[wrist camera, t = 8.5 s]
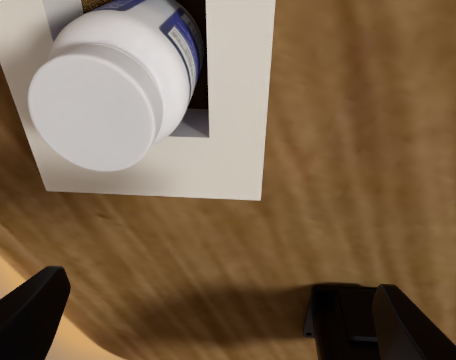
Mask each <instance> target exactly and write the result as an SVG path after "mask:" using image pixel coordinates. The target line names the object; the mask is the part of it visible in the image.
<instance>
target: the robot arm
mask: <svg viewBox="0 0 456 360" xmlns="http://www.w3.org/2000/svg"><path fill="white" fill-rule="evenodd" d="M70 288H71V287H70V283H69V280H68V277H67V275H66V272H65V269H64V268H63V267H62V266H47V267H45V268H44V269H43V270H41V271H40V272H38V273H37V274H35V275H34V276H33V277H31V278H30V279H28V280H27V281H26V282H24V283H23V284H21V285H20V286H19V287H17V288H16V289H15V290H13V291H12V292H10V293H9V294H7V295H6V296H4V297H3V298H2V299H0V360H45V358H46V356H47V353H48V351H49V349H50V347H51V345H52V342H53V339H54V337H55V334H56V331H57V328H58V325H59V322H60V320H61V317H62V314H63V311H64V308H65V305H66V303H67V300H68V297H69V294H70ZM303 335H304V336H305V337H309V338H315V342H316V348H317V355H318V360H456V345H455V344H454V343H453V342H452V341H451V340H450V339H449V338H448V337H447V336H446V335H445V334H444V333H443V332H442V331H441V330H440V329H439V328H438V327H437V326H436V325H435V324H434V323H433V322H432V321H431V320H430V319H429V318H428V317H427V316H426V315H425V314H424V313H423V312H422V311H421V310H420V309H419V308H418V307H417V306H416V305H415V304H414V303H413V302H412V301H411V300H410V299H409V298H408V297H407V296H406V295H405V294H404V293H403V292H402V291H401V290H400V289H399V288H398V287H397V286H395V285H392V284H380V285H379V286H378V288H377V289H366V288H348V287H330V286H315V287H313V288H312V290H311V294H310V299H309V303H308V308H307V313H306V317H305V322H304V326H303Z"/></svg>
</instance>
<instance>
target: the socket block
mask: <svg viewBox="0 0 456 360" xmlns="http://www.w3.org/2000/svg"><path fill="white" fill-rule="evenodd" d="M274 12H275V0H206V30H207V66H208V101H209V109H187V110H186V112H185V114H184V116H183V118H182V120H181V122H180V123H179V125H178V126H177V127H176V129H175V130H174V131H173V132H172V133H171V134H170V135H169V136H168V137H166V138H165V139H163V140H162V141H160V142H159V143H157V144H154V145H152V146H151V148H150V149H149V151H148V152H147V153H146V155H145V156H144V157H143V158H142V159H141V160H140V161H139V162H137V163H136V164H134V165H132V166H130V167H128V168H125V169H122V170H118V171H111V172H102V171H94V170H89V169H85V168H82V167H80V166H77V165H75V164H73V163H71V162H69V161H67V160H65V159H64V158H63V157H61V156H60V155H58V154H57V153H56V152H54V151H53V150H52V149H51V148H50V147H49V146H48V145H47V144H46V143H45V141H44V140H43V139H42V138H41V136H40V135H39V133H38V132H37V130H36V128H35V126H34V124H33V122H32V120H31V116H30V113H29V109H28V89H29V85H30V82H31V79H32V78H33V76H34V74H35V72H36V71H37V70H38V69H39V68H40V67H41V66H42V65H43V64H44V63H45V62H47V61H48V58H49V53H50V50H51V47H52V45H53V43H54V41H55V39H56V38H57V36H58V34H59V33H60V32H61V31H62V29H63V28H64V27H66V26H67V25H68V24H69V23H70V22H72V21H73V20H75V19H76V18H78V17H79V16H81V15H83V14H84V13H83V8H82V3H81V0H0V64H1V66H2V69H3V72H4V75H5V78H6V80H7V83H8V86H9V89H10V91H11V94H12V97H13V100H14V103H15V105H16V108H17V111H18V114H19V116H20V119H21V122H22V125H23V128H24V130H25V133H26V136H27V139H28V141H29V144H30V147H31V150H32V153H33V155H34V158H35V161H36V164H37V166H38V169H39V172H40V175H41V178H42V180H43V183H44V186H45V189H46V191H57V192H80V193H103V194H125V195H148V196H170V197H193V198H216V199H238V200H261V189H262V175H263V161H264V148H265V134H266V121H267V107H268V94H269V80H270V66H271V53H272V39H273V26H274Z"/></svg>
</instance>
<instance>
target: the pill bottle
mask: <svg viewBox="0 0 456 360" xmlns="http://www.w3.org/2000/svg"><path fill="white" fill-rule="evenodd" d="M203 58H204V46H203V40H202V36H201V33H200V30H199V28H198V26H197V24H196V22H195V20H194V19H193V17H192V16H191V15H190V14H189V12H188V11H187V10H186V9H185V8H184V7H183V6H182V5H180V4H179V3H178V2H176V1H175V0H114V1H112V2H110V3H108V4H106V5H103V6H101V7H99V8H96V9H94V10H92V11H90V12H88V13H85V14H83V15H81V16H79V17H78V18H76V19H75V20H73V21H72V22H70V23H69V24H68V25H67V26H66V27H64V28H63V29H62V31H61V32H60V33H59V34H58V36H57V38H56V39H55V41H54V43H53V45H52V47H51V50H50V53H49V58H48V61H47V62H45V63H44V64H43V65H42V66H41V67H40V68H39V69H38V70H37V71H36V72H35V74H34V76H33V78H32V79H31V82H30V85H29V89H28V109H29V113H30V116H31V120H32V122H33V124H34V126H35V128H36V130H37V132H38V133H39V135H40V136H41V138H42V139H43V140H44V141H45V143H46V144H47V145H48V146H49V147H50V148H51V149H52V150H53V151H54V152H56V153H57V154H58V155H60V156H61V157H63V158H64V159H65V160H67V161H69V162H71V163H73V164H75V165H77V166H80V167H82V168H85V169H89V170H94V171H102V172H111V171H118V170H122V169H125V168H128V167H130V166H132V165H134V164H136V163H137V162H139V161H140V160H141V159H142V158H143V157H144V156H145V155H146V153H147V152H148V151H149V149H150V148H151V146H152V145H154V144H157V143H159V142H160V141H162V140H163V139H165V138H166V137H168V136H169V135H170V134H171V133H172V132H173V131H174V130H175V129H176V127H177V126H178V125H179V123H180V122H181V120H182V118H183V116H184V114H185V112H186V110H187V108H188V105H189V102H190V99H191V97H192V95H193V91H194V88H195V86H196V83H197V80H198V77H199V74H200V72H201V68H202V64H203Z"/></svg>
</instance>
